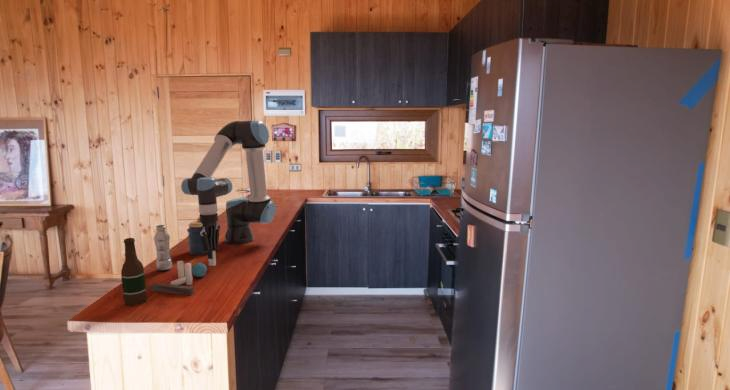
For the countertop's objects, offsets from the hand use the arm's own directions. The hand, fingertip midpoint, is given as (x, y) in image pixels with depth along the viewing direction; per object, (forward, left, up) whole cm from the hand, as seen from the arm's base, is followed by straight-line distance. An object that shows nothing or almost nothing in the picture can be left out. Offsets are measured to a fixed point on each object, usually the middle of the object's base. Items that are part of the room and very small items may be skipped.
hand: (212, 265), depth 197 cm
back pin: (+16, -4, -2) cm, 17 cm away
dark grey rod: (+27, 0, -2) cm, 27 cm away
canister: (-23, -21, -2) cm, 31 cm away
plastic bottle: (+5, -21, -2) cm, 22 cm away
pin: (+18, +1, -2) cm, 18 cm away
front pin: (+14, -1, -1) cm, 14 cm away
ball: (+10, 0, +1) cm, 10 cm away
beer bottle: (+38, -7, -2) cm, 39 cm away
